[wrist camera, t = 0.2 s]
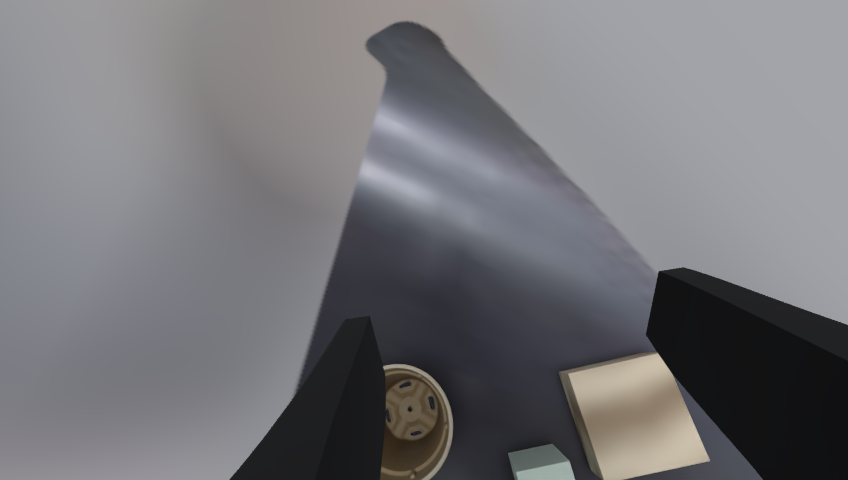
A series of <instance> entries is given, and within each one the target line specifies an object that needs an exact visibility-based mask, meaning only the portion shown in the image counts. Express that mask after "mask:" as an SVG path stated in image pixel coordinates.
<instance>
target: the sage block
mask: <svg viewBox="0 0 848 480" xmlns="http://www.w3.org/2000/svg"><path fill="white" fill-rule="evenodd" d="M508 455H509V459H510V463H511V467H512V471H513V475H514V479H515V480H575V477H574V474H573V471H572V468H571V464H570V461H569V460H568V459H567V458H566V457H565V456H564V455H563V454H562V453H561V452H560V451H559V450H558V449H557V448H556V447H555V446H554V445H553V444H548V445H544V446H539V447H534V448H529V449H525V450H520V451H515V452H511V453H508Z"/></svg>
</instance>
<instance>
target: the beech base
mask: <svg viewBox="0 0 848 480" xmlns="http://www.w3.org/2000/svg"><path fill="white" fill-rule="evenodd" d="M559 376H560V379H561V382H562V385H563V388H564V391H565V394H566V397H567V400H568V403H569V406H570V409H571V412H572V415H573V418H574V421H575V424H576V427H577V430H578V433H579V436H580V439H581V443H582V446H583V449H584V452H585V455H586V458H587V461H588V464H589V467H590V470H591V471H592V472H593V473H594V474H596V475H597V476H598V477H599V478H600V479H601V480H623V479H628V478H632V477H637V476H642V475H646V474H651V473H656V472H661V471H665V470H670V469H675V468H679V467H684V466H689V465H693V464H698V463H703V462H707V461H710V460H709V458H708V455H707V453H706V451H705V448H704V446H703V444H702V442H701V439H700V437H699V435H698V432H697V430H696V428H695V425H694V423H693V421H692V418H691V416H690V414H689V412H688V409H687V407H686V405H685V402H684V400H683V398H682V395H681V393H680V391H679V388H678V386H677V384H676V382H675V379H674V377H673V375H672V373H671V371H670V370H669V369H668V367H667V366H666V364H665V363H664V361H663V360H662V358H661V357H660V356H659V354H658V353H657V352H645V353H639V354H635V355H630V356H626V357H622V358H617V359H613V360H608V361H604V362H600V363H595V364H591V365H586V366H582V367H578V368H573V369H569V370H564V371H560V372H559Z"/></svg>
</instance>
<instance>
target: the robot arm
mask: <svg viewBox="0 0 848 480" xmlns="http://www.w3.org/2000/svg"><path fill="white" fill-rule="evenodd" d="M646 335H647V337H648V339H649V340H650V342H651V343H652V345H653V346H654V348H655V349H656V351H657V353H658V354H659V356H660V357H661V358H662V360H663V361H664V363H665V364H666V366H667V367H668V369H669V370H670V371H671V373H672V374H673V375H674V376H675V377H676V379H677V380H678V381H679V382H680V383H681V385H682V386H683V387H684V388H685V389H686V390H687V392H688V393H689V394H690V395H691V396H692V397H693V399H694V400H695V401H696V402H697V403H698V404H699V406H700V407H701V408H702V409H703V410H704V411H705V412H706V414H707V415H708V416H709V417H710V418H711V419H712V420H713V422H714V423H715V424H716V425H717V426H718V427H719V428H720V430H721V431H722V432H723V433H724V434H725V435H726V437H727V438H728V439H729V440H730V441H731V442H732V443H733V445H734V446H735V447H736V448H737V449H738V450H739V451H740V453H741V454H742V455H743V456H744V457H745V458H746V459H747V461H748V462H749V463H750V464H751V465H752V466H753V468H754V469H755V470H756V471H757V473H758V474H759V475H760V476H761V478H762V479H763V480H848V325H846V324H843V323H841V322H838V321H835V320H832V319H829V318H826V317H823V316H820V315H818V314H815V313H812V312H809V311H806V310H804V309H801V308H798V307H795V306H792V305H790V304H787V303H784V302H781V301H779V300H776V299H773V298H771V297H768V296H765V295H762V294H759V293H757V292H754V291H752V290H749V289H746V288H743V287H740V286H738V285H735V284H732V283H729V282H727V281H724V280H721V279H718V278H715V277H712V276H709V275H707V274H703V273H701V272H697V271H694V270H691V269H687V268H677V269H671V270H664V271H659V273H658V278H657V283H656V288H655V293H654V297H653V302H652V307H651V312H650V317H649V322H648V327H647V332H646ZM385 421H386V382H385V371H384V368H383V364H382V360H381V357H380V353H379V349H378V346H377V342H376V338H375V335H374V331H373V327H372V324H371V320H370V316H366V317H359V318H353V319H346V320H345V321H344V322H343V323H342V325H341V326H340V328H339V329H338V331H337V332H336V334H335V336H334V337H333V339H332V340H331V342H330V344H329V345H328V347H327V348H326V350H325V352H324V353H323V355H322V356H321V358H320V359H319V361H318V362H317V364H316V365H315V367H314V368H313V370H312V371H311V373H310V374H309V376H308V377H307V379H306V380H305V382H304V383H303V385H302V386H301V388H300V389H299V391H298V392H297V393H296V395H295V396H294V398H293V399H292V401H291V402H290V403H289V405H288V406H287V407H286V409H285V410H284V411H283V413H282V414H281V416H280V417H279V418H278V419H277V421H276V422H275V424H274V425H273V426H272V427H271V429H270V430H269V432H268V433H267V434H266V436H265V437H264V438H263V440H262V441H261V442H260V443H259V444H258V446H257V447H256V448H255V449H254V451H253V452H252V453H251V454H250V456H249V457H248V458H247V459H246V461H245V462H244V463H243V464H242V465H241V467H240V468H239V469H238V470H237V472H236V473H235V474H234V475H233V476H232V477H231V479H230V480H380V475H381V465H382V454H383V443H384V432H385Z"/></svg>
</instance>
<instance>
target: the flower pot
mask: <svg viewBox="0 0 848 480" xmlns="http://www.w3.org/2000/svg"><path fill="white" fill-rule="evenodd" d="M383 368H384V371H385V382H386V410H387V409H389V414H390V418H391V422H388V420H387V418H386V421H385V432H384V443H383V454H382V465H381V475H380V480H430V479H431V478H432V477H433V476H434V475H435V474H436V473H437V472H438V470H439V469H440V468H441V466H442V464H443V463H444V461H445V459H446V457H447V455H448V452H449V449H450V446H451V442H452V436H453V418H452V412H451V408H450V405H449V402H448V399H447V397H446V395H445V393H444V391H443V390H442V388H441V387H440V385H439V384H438V383H437V382H436V381H435V380H434V379H433V378H432V377H431V376H430V375H428V374H427V373H426V372H424V371H422V370H420V369H418V368H416V367H413V366H410V365H405V364H392V365H386V366H383ZM406 382H410V383H411V385H410V386H407V387H403V388H400V386H401V385H402V384H404V383H406ZM429 397H433V399H434V405H435V408H434V409H431V406H430V401H429V399H428V398H429ZM409 407H411V408H412V411H408V408H409ZM415 430H416V431H421V433H420V434H417V435H411V433H413V432H415Z"/></svg>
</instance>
